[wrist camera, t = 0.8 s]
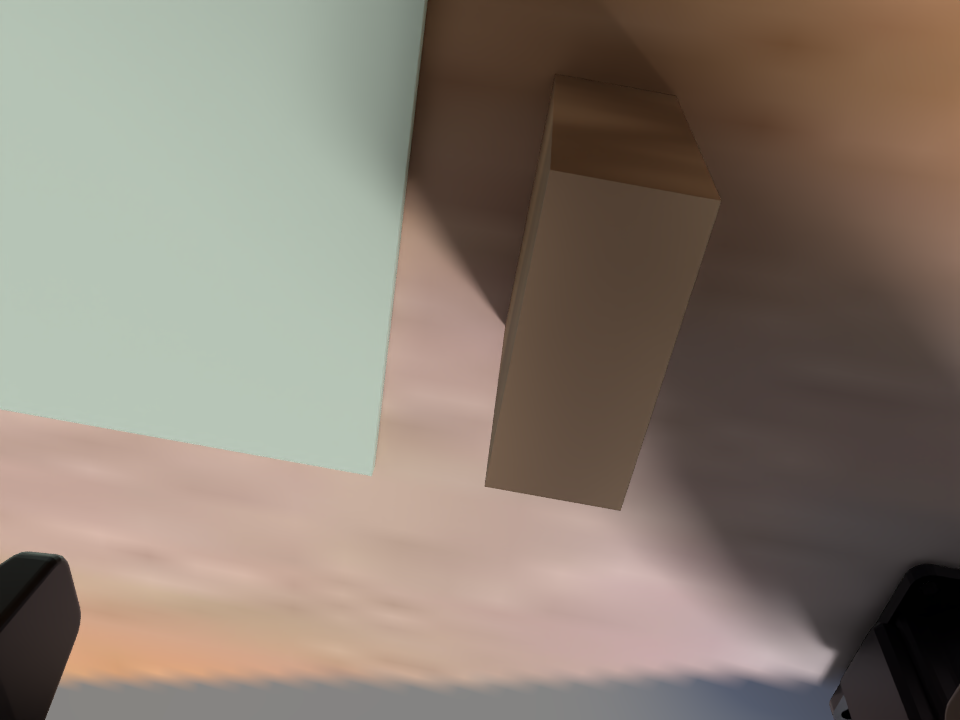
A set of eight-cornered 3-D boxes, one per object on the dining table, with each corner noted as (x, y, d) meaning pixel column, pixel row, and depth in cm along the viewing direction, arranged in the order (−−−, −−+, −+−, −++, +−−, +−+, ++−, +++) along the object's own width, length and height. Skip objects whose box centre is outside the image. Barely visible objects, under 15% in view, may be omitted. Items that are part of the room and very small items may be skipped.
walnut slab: (675, 95, 17) (721, 201, 12) (607, 343, 20) (620, 510, 15) (555, 73, 17) (549, 170, 12) (505, 326, 20) (484, 486, 15)
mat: (456, -250, 14) (453, -253, 14) (374, 466, 23) (371, 476, 23) (-350, -398, 14) (-373, -405, 14) (-134, 375, 23) (-145, 383, 22)
